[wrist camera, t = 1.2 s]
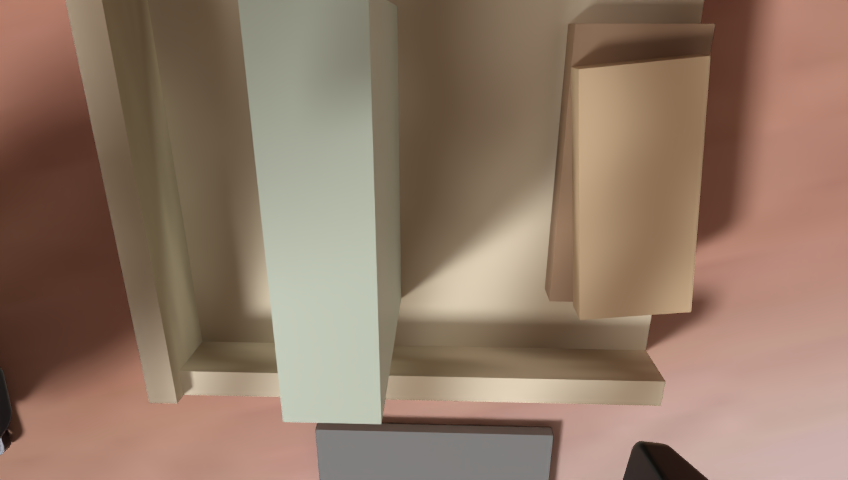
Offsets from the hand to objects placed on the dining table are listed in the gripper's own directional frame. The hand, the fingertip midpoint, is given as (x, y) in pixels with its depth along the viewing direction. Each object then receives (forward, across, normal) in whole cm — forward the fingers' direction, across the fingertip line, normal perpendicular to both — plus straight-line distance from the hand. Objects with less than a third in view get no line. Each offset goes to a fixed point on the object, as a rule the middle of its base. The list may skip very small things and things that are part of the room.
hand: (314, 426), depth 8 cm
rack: (+13, 0, -1) cm, 13 cm away
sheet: (+12, +1, -1) cm, 12 cm away
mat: (+13, -3, +14) cm, 19 cm away
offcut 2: (+11, -7, -1) cm, 13 cm away
